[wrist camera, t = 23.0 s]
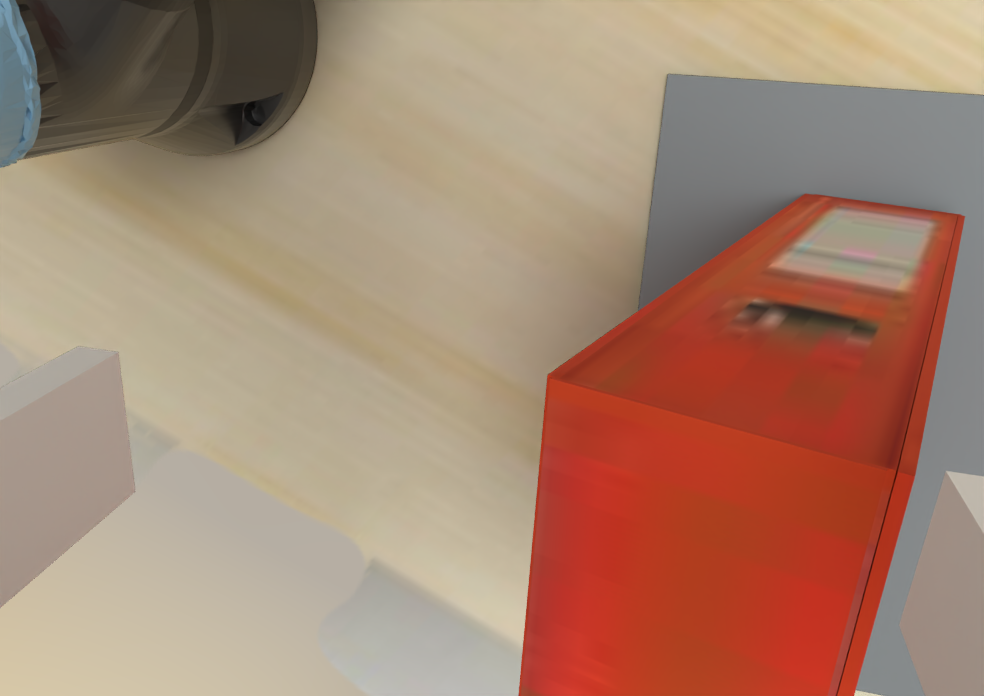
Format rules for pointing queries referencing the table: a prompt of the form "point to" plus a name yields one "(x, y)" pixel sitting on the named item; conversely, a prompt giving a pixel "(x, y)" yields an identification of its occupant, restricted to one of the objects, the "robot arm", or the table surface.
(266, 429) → the table surface
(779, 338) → the file binder
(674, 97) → the mat
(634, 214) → the table surface
